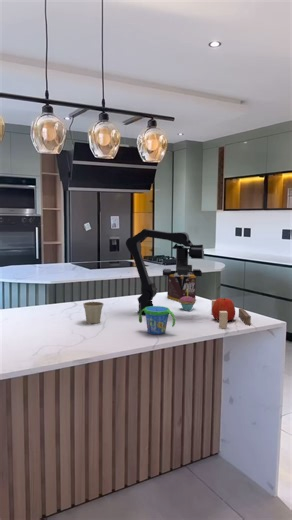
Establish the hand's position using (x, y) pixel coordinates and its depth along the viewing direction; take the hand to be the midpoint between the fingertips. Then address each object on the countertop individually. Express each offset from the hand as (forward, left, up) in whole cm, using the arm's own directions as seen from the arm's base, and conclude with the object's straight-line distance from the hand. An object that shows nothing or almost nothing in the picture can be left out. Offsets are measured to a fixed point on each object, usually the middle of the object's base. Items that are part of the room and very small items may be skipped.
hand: (181, 290), depth 189 cm
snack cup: (-23, -21, -13) cm, 34 cm away
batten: (+23, -19, -13) cm, 33 cm away
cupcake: (+10, +12, -13) cm, 20 cm away
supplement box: (+20, +37, -13) cm, 44 cm away
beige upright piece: (+13, -14, -13) cm, 23 cm away
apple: (+15, -14, -13) cm, 24 cm away
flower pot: (-43, +5, -13) cm, 45 cm away
